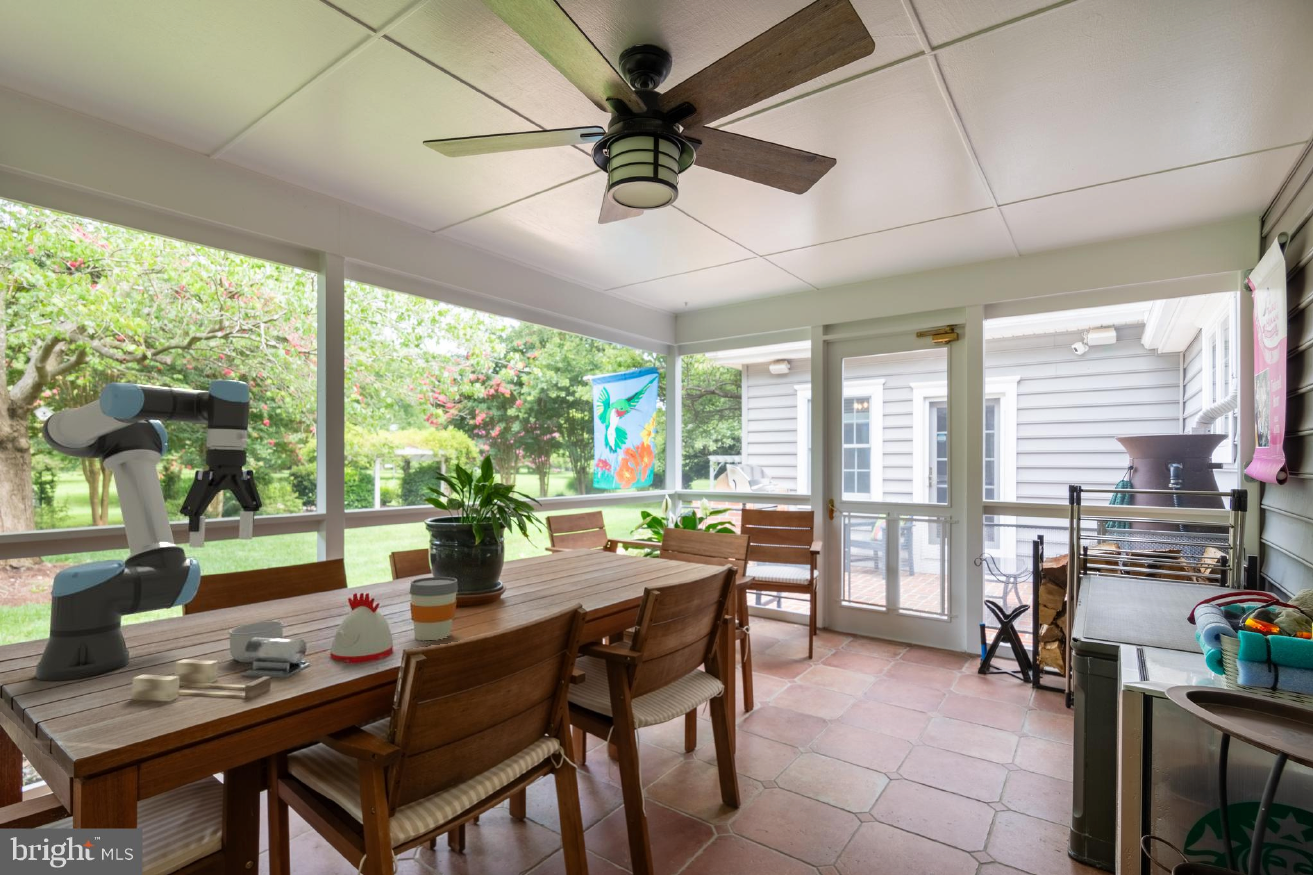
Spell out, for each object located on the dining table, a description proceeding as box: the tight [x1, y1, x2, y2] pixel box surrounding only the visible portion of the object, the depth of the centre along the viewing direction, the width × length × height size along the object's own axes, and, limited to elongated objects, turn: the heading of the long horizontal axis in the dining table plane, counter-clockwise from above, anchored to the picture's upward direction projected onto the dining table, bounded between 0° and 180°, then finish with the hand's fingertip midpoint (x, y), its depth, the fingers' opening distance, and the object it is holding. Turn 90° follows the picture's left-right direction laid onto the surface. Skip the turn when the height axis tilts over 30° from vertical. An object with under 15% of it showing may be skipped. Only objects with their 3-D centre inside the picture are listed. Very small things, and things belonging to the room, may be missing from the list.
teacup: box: [228, 619, 284, 663], centre depth 145 cm, size 14×11×8 cm
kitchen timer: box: [329, 592, 394, 664], centre depth 149 cm, size 14×14×15 cm
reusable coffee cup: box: [409, 576, 459, 642], centre depth 165 cm, size 13×13×15 cm
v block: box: [242, 660, 311, 679], centre depth 135 cm, size 10×8×3 cm
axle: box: [244, 637, 307, 663], centre depth 135 cm, size 11×5×5 cm, turn 85°
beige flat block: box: [131, 658, 272, 702], centre depth 122 cm, size 22×12×4 cm, turn 85°
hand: (222, 543), depth 135 cm, fingers open, 13 cm apart
